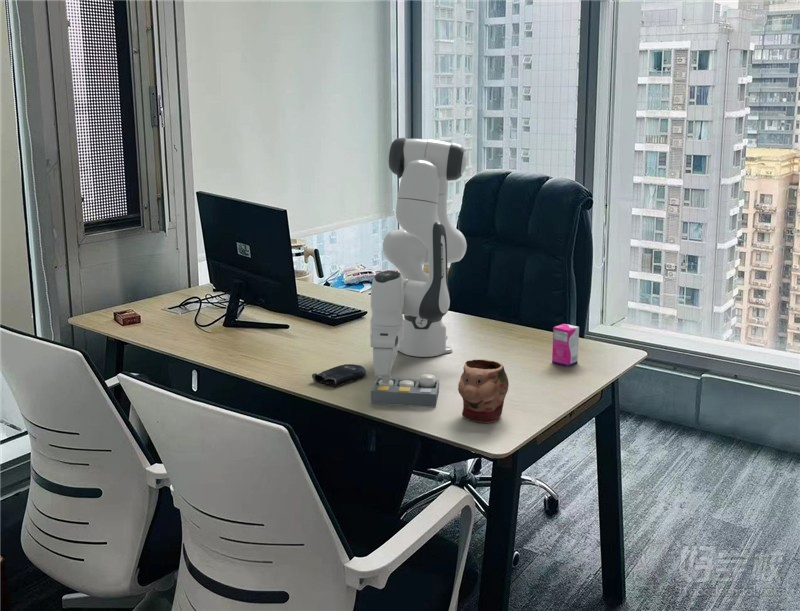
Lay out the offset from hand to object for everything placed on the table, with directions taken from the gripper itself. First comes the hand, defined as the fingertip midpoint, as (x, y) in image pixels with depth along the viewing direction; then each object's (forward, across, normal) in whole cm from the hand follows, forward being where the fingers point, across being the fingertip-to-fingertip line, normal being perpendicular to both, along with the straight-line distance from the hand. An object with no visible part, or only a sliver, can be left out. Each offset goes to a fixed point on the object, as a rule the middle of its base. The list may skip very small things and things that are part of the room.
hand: (386, 381), depth 228 cm
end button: (+2, 0, 0) cm, 3 cm away
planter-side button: (0, 0, +11) cm, 11 cm away
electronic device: (+4, -11, -14) cm, 19 cm away
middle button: (+2, 0, +6) cm, 6 cm away
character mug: (+4, +10, +26) cm, 28 cm away
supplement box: (+4, -36, +50) cm, 62 cm away
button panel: (+4, +2, +6) cm, 7 cm away
